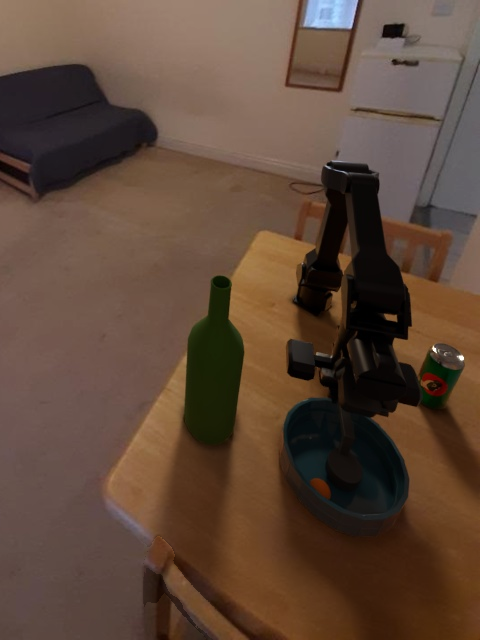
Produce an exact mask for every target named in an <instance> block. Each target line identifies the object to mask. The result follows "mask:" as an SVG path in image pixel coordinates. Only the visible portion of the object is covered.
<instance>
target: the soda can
mask: <svg viewBox="0 0 480 640" xmlns="http://www.w3.org/2000/svg"><path fill="white" fill-rule="evenodd" d="M465 366H466V364H465V358H464V355H463V354H462V353H461V352H460V351H459V349H457V348H456V347H454V346H452V345H450V344H448V343H445V342H444V343H443V342H437V343H434V344H433V345H431V346H429V347H428V350H427V352H426V355H425V357H424V359H423V362H422V364H421V366H420V369H419V371H418V374H417V378H418V381H419V384H420V387H421V389H422V397H423V398H422V400H421V402H420V404H422V405H424V406H425V407H427V408H430V409H434V410H441V409H442V410H443V409H445V407H446V406H447V403H448V401H449V399H450V397H451V395H452V393H453V392H454V389H455V387H456V386H457V383H458V381H459V380H460V377H461V375H462V373H463V371H464V369H465Z"/></svg>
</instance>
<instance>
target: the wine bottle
mask: <svg viewBox="0 0 480 640" xmlns="http://www.w3.org/2000/svg"><path fill="white" fill-rule="evenodd" d="M232 286H233V282H232V280H231V279H230V278H229V277H228V276H226V275H221V274H218V275H213V277H212V278H211V279H210V288H209V289H210V290H209V298H208V309H207V315H205V316H204V317H203V318H201V319H200V320H198V321H197V322H195V324H194V325H193V326H192V327H191V330H190V332H189V334H188V337H187V343H186V344H187V348H186V369H185V389H184V409H183V410H184V412H183V418H184V423H185V425H186V428H187V429H188V431H189V433H190V434H191V435H192V436H193V438H195V439H196V440H198V441H199V442H201V443H203V444H205V445H209V446H210V445H211V446H214V445H220V444H223V443H225V442H227V440H229V438H230V437H231V436H232V435H233V432H234V430H235V426H236V425H235V424H236V417H237V412H238V411H237V409H238V402H239V395H240V388H241V380H242V375H243V374H242V373H243V365H244V358H245V345H244V340H243V336H242V334H241V332H240V331H239V330H238V329H237V327H236V326H235V325H234V323H233V322H232V321H231V320H230V308H231V307H230V306H231V296H232Z"/></svg>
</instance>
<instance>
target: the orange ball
mask: <svg viewBox="0 0 480 640" xmlns="http://www.w3.org/2000/svg"><path fill="white" fill-rule="evenodd" d="M310 484H311V485H312V486H313V487H314V488H315V489H316V490H317V491H318V492H319V493H320V494H321V495H322V496H323V497H325V498H327V499H328V500H330V496H331V493H330V489H329V487H328V485H327V484H326V483H325V482H324V481H323V480H321V479H319V478H314V479H312V480H311V481H310Z"/></svg>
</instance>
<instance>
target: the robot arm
mask: <svg viewBox="0 0 480 640" xmlns="http://www.w3.org/2000/svg"><path fill="white" fill-rule="evenodd" d="M320 183H321V185H322V187H323V190H324V196H325V198H326V199H327V200H326V203H325V208H324V212H323V215H322V220H321V224H320V228H319V231H318V235H317V238H316V243H315V247H314V248H313V249H311V250H309V251H308V252H306V253H305V255H304V258H303V261H302V262H301V263H298V264H296V269H295V276H296V283H297V291H296V295H295V296H294V297H293V298H292V300H291V301H292V302H294V304H296V305H298V306H300V307H301V308H303V309H304V310H306V311H307V312H309V313H310V314H312V315H313V316H315V317H318V316H320V315H321V314H322V313H325V312H326V311H327V310H328V309H329V308H330V307H331V305H332V303H333V302H332V300H333V296H334V294H333V292H334V293H338V292H339V290H340V293H341V294H340V299H341V319H340V322H339V324H338V325H336V329H335V331H336V336H335V341H334V342H332V344H331V354H327V353H322V352H319V351H317V352H316V353H315V351H314V344H313V343H312V342H308V341H303V340H299V339H296V338H295V339H294V338H289V339H288V340H286V344H285V360H286V361H285V363H286V374H287V375H288V376H289V377H290V378H294V379H298V380H303V381H307V382H309V381H312V380H314V379H315V377H316V368H317V374H318V382H319V384H320V386H322V387H324V388H329V390H330V394H331V399H332V403H334V404H335V403H336V401H337V395H338V390H339V405H340V407H341V408H342V409H343V410H344V411H346V412H349V413H355V414H359V415H363V416H365V417H369V418H372V419H373V418H374V417H375V416H376V415H378V416H381V417H386V418H389V415H390V413H391V414H393V413H395V412H396V410H397V408H398V405H399V404H402V405H406V406H410V407H414V408H417V407H418V406H420V404H421V400H422V398H423V397H422V389H421V387H420V384H419V381H418V378H417V376H418V374H417V373H416V370H415V368H414V367H413V365H411V364H410V363H406V362H401V361H399V360H398V356H397V354H396V351H395V348H394V342H395V339H398V340H404V341H408V340H409V328H413V322H412V319H413V318H412V304H411V303H412V301H411V294H410V292H409V287H408V286H407V284H406V283H405V282H404V279H403V275H402V271H401V267H400V265H398V264H397V262H396V261H395V260H394V259H393V258H392V257H391V256H390V254H388V249H387V245H386V239H385V231H384V226H383V220H382V213H381V207H380V199H379V191H380V185H381V183H380V172H378V171H376V170H374V169H370V167H369V165H368V163H366V162H353V161H342V160H330V161H327V162H326V164H325V165H323V166H322V168H321V174H320ZM347 229H348V236H349V246H350V259H351V260H350V261H349V263H348V265H347V266H346V267H345V269H344V271H343V269H342V267H341V262H340V258H339V254H340V251H341V249H342V245H343V242H344V238H345V235H346V231H347ZM386 315H389V316H396V321H395V320H391V319H387V318H386Z"/></svg>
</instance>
